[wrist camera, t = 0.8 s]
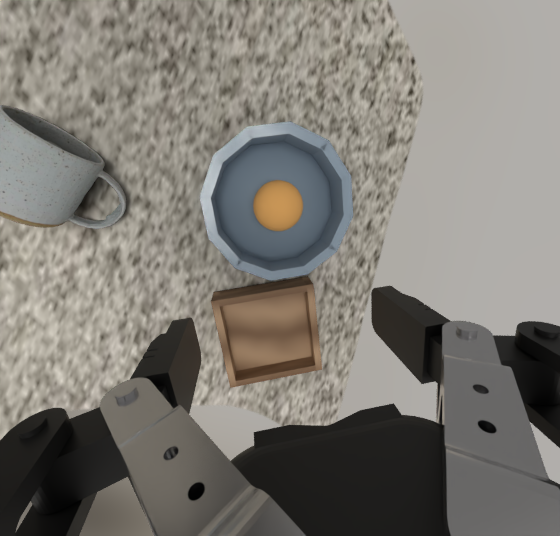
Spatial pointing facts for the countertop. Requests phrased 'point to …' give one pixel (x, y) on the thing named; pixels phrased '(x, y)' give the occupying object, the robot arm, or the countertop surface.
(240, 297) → the tray
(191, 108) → the countertop surface
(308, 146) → the faceted grey bowl
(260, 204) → the ball
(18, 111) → the ceramic mug
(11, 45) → the countertop surface
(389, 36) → the countertop surface
